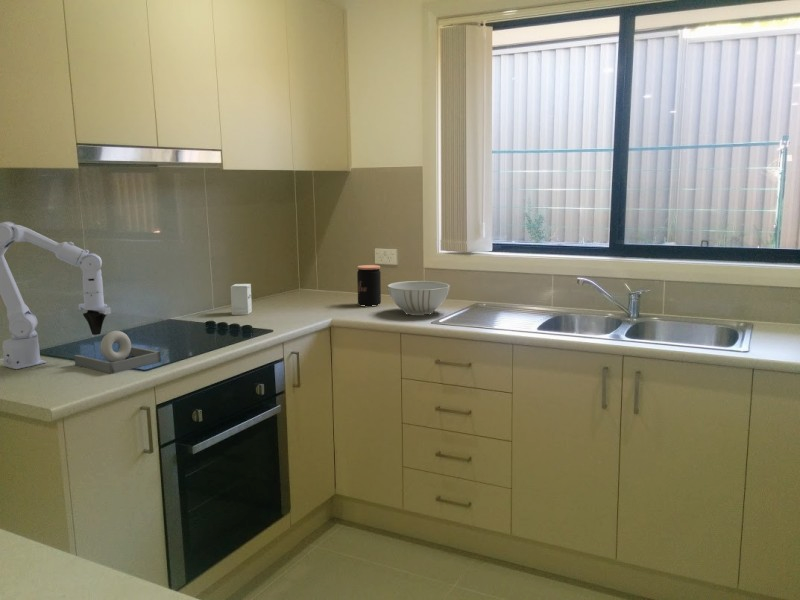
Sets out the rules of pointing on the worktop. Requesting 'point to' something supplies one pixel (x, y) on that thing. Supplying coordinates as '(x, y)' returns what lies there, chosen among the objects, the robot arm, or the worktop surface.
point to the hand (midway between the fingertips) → (96, 334)
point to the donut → (107, 346)
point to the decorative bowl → (418, 296)
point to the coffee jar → (369, 285)
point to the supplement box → (241, 299)
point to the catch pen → (139, 359)
